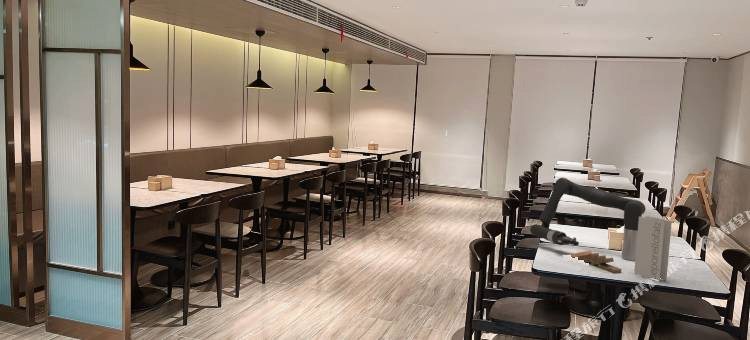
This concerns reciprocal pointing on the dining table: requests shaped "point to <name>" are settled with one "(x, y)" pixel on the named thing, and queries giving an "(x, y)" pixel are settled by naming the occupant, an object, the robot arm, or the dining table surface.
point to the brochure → (652, 247)
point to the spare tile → (580, 254)
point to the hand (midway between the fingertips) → (577, 243)
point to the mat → (597, 267)
